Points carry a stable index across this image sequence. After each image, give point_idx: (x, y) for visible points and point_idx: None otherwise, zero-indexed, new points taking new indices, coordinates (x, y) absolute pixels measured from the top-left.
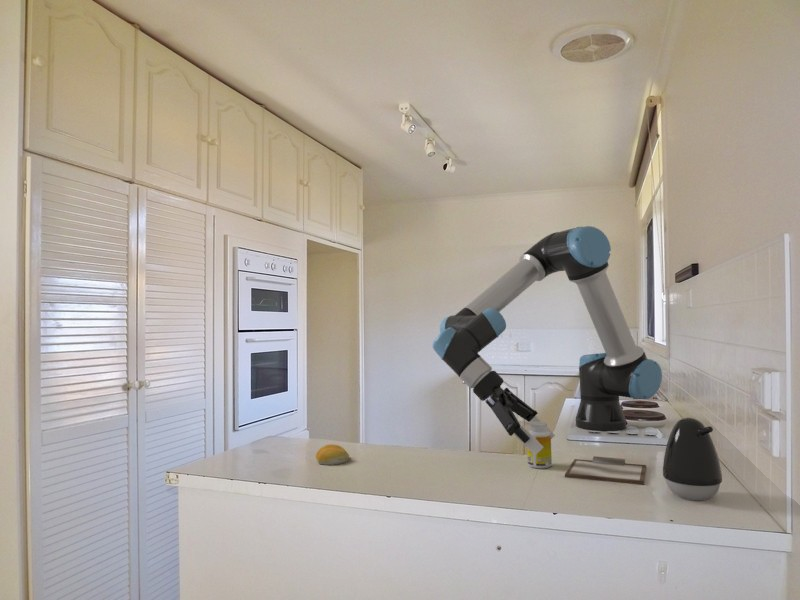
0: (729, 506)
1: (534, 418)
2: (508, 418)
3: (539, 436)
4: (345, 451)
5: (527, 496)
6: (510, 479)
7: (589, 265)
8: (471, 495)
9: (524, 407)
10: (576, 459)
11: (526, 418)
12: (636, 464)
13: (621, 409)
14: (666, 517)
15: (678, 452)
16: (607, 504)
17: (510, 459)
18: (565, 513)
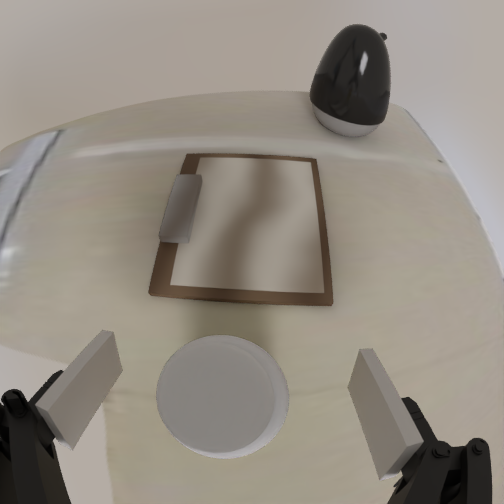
0: None
1: (56, 416)
2: (486, 486)
3: (286, 383)
4: None
5: (481, 344)
6: None
7: None
8: (501, 434)
9: (28, 480)
10: (152, 287)
11: (53, 456)
12: (184, 166)
13: None
14: (436, 163)
15: (390, 81)
16: (444, 216)
17: (172, 488)
18: (499, 268)
